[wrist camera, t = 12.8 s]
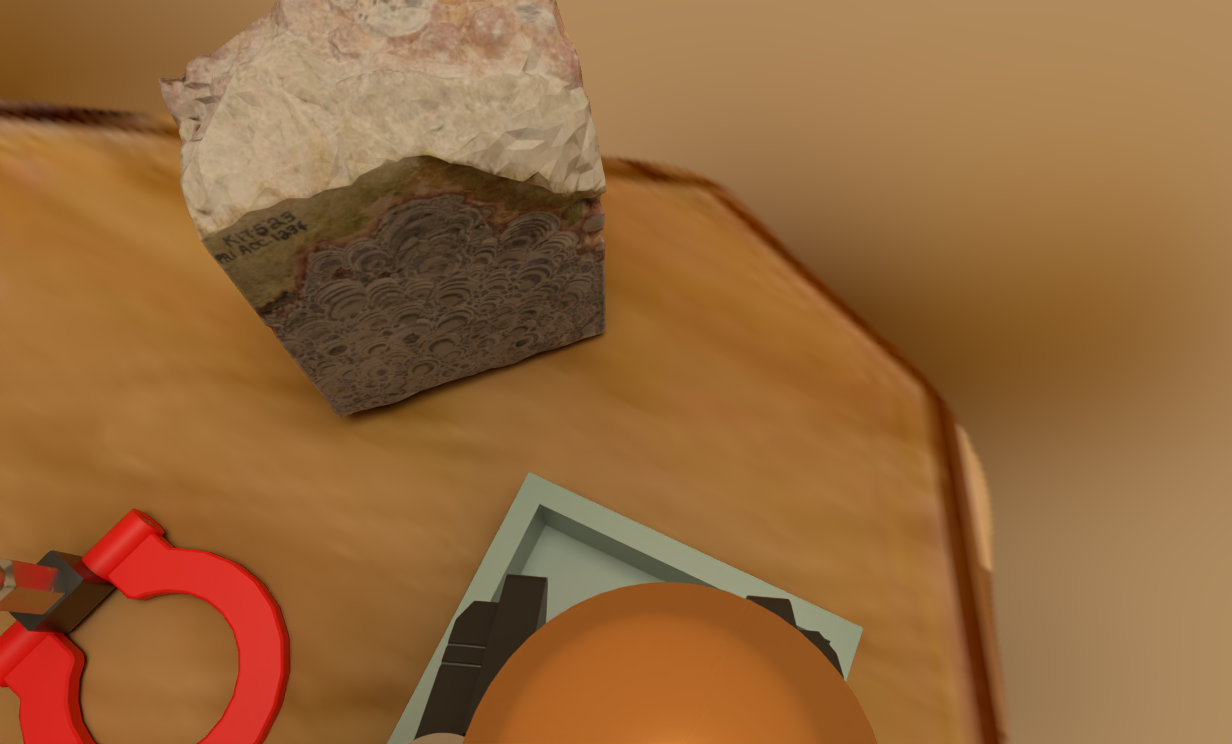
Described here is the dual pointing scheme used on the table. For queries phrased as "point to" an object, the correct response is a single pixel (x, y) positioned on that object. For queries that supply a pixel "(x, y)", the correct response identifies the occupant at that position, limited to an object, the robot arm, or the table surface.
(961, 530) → the table surface
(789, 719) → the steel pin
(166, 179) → the table surface
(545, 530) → the tray
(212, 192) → the geological specimen
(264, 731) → the tow hook
